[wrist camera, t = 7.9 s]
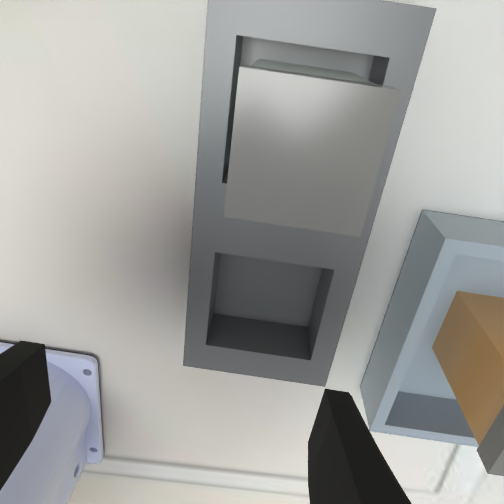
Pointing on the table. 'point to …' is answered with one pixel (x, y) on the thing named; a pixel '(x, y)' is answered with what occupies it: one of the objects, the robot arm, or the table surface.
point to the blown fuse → (477, 369)
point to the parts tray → (429, 327)
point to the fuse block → (278, 236)
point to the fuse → (306, 146)
